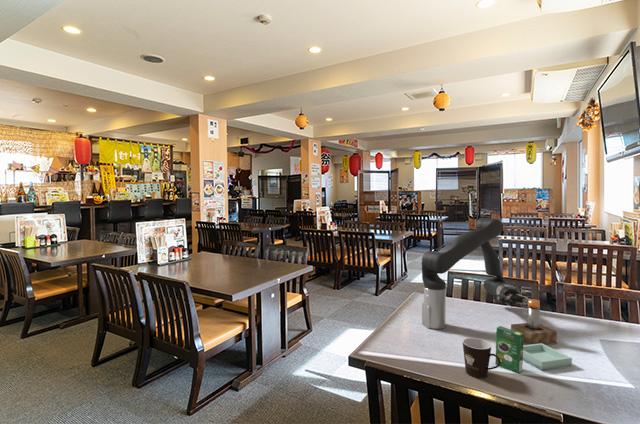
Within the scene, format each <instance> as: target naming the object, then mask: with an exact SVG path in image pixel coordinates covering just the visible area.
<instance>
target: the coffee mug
mask: <svg viewBox="0 0 640 424" xmlns="http://www.w3.org/2000/svg"><path fill="white" fill-rule="evenodd" d="M462 349H463V358H464V366H465V372H466V373H465V374H467V375H468V376H469V377H472V378H474V379H485V378H487V377H488V374H489V371H491V370H495V369H497V368H499V367H501V366H500V364H501V361H500V358H499V357H498V356H497V355H496V353H492V344H491V343H490V342H489V341H488V340H485V339H482V338H476V337H466V338H463V339H462ZM491 356H492V357H495V359H496V358H497V359H498V362H499V363H498V365H497V364H496V365H495V366H491V367H489V366H490V359H491Z"/></svg>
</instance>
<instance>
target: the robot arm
mask: <svg viewBox="0 0 640 424" xmlns="http://www.w3.org/2000/svg"><path fill="white" fill-rule="evenodd" d="M503 229H504V225H503V222H502V221H501V220H500V219H498V218H494V217H493V218H491V217H480V218H479V219H477V220H476V222H475V229H474V230H469V231H465V232H463V233H462V234H460V235H458V236H456V237H455V238H454V239H453V240H452V242H451V245H450V246H451V247H450V249H448V250H447V251H444V252H441V251H440V252H439V251H432V250H428V251H426V252H424V253H423V255H422V258H421V279H422V282H423V302H422V303H421V324H422V325H423V326H424V327H426V328H428V329H433V330H434V329H435V330H443V329H445V328H446V322H447V321H446V304H447V303H446V300H447V299H446V297H447V295H446V293H447V289H446V288H447V287H446V282H445V280H443V279H442V278H441V277H440V276H439V274H440V275H441V274H445V273H447V272H448V271H449V270H451V268H453V267H454V266H455V265H456V264H457V263H458V262H459V261H461V260H462V259H463V258H465V257H467V256H468V255H470V254H471V253H473V252H474V251H476V250H477V249H479V247H480V248H481V252H482V255H483V262H484V268H485V273H486V275H488V276H493V277H494V278H486V279H485V280H484V281H483V289H484V290H485V291H486V292H487V293H489V294H491V295H495V296H497V299H496V300H497V301H498V302H499V303H500V304H501V305H502V304H506V305H508V306H510V307H514V305H517V304H521V305H528V299H535V300H537V299H536V298H534V297H533V296H531V295H530V294H529V295H526V296H525V295H521V294H520V292H519V291H518V290H517V289H516V288H514V287H513V286H511V285H508V283H507V282H506V280H505V278H504V276H503V273H502V271H501V270H502V269H501V261H500V257H499V254H497V252H496V251H495V249H494V248H493V246H492V244H491V242H490V241H491V240H493V239H495V238H497V237H499V236H500V235H501V234H502V232H503Z"/></svg>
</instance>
